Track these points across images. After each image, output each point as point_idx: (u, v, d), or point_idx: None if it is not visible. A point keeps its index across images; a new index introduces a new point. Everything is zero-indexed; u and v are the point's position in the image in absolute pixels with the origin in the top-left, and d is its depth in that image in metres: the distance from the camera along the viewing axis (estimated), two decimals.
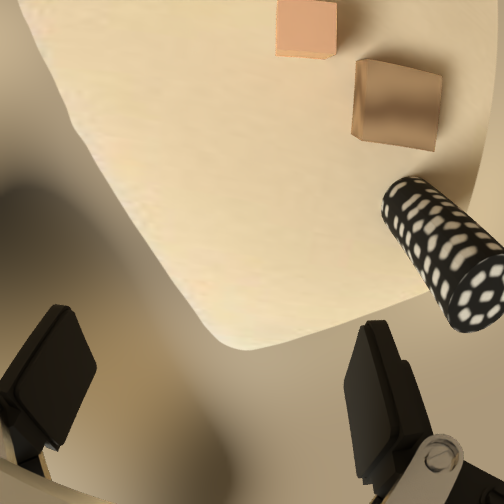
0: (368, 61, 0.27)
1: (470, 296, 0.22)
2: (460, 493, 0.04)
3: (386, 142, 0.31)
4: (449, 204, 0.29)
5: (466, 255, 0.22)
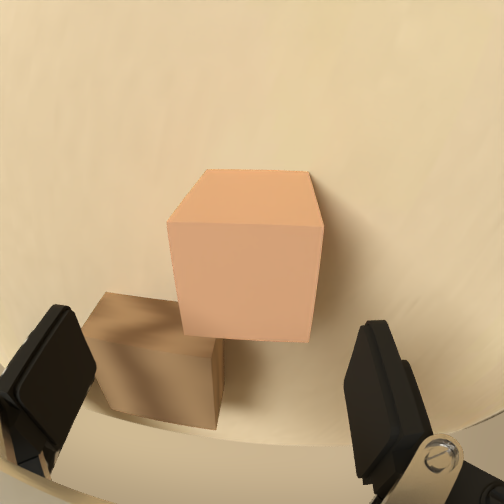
0: (206, 358, 0.18)
1: None
2: (460, 493, 0.04)
3: None
4: None
5: None
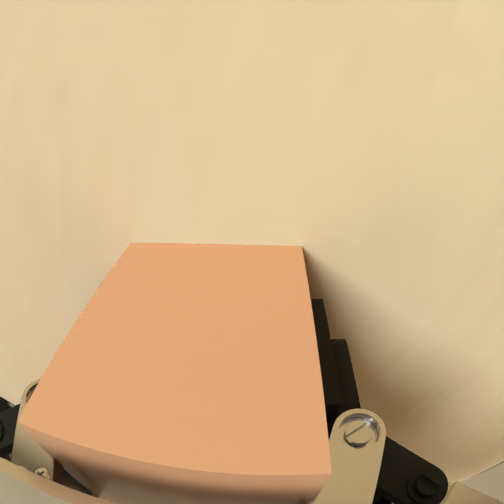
0: None
1: None
2: (384, 473, 0.05)
3: None
4: None
5: None
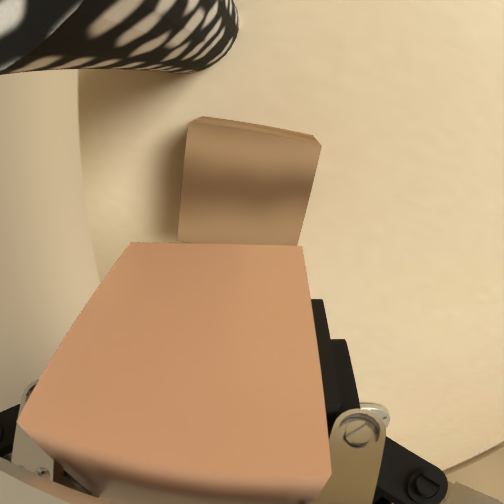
0: None
1: None
2: (384, 473, 0.05)
3: (279, 139, 0.20)
4: (143, 68, 0.14)
5: (120, 5, 0.06)
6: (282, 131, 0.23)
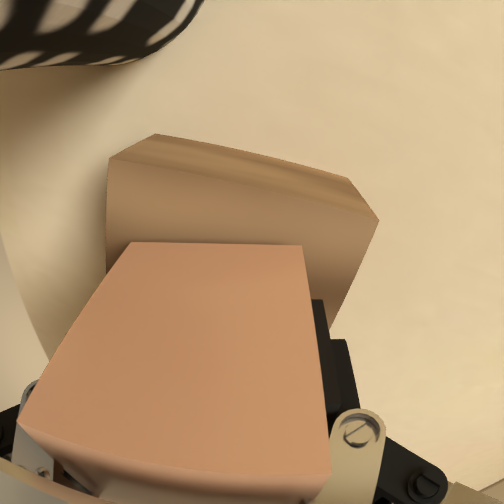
0: None
1: None
2: (384, 473, 0.05)
3: (296, 203, 0.10)
4: None
5: None
6: (298, 172, 0.12)
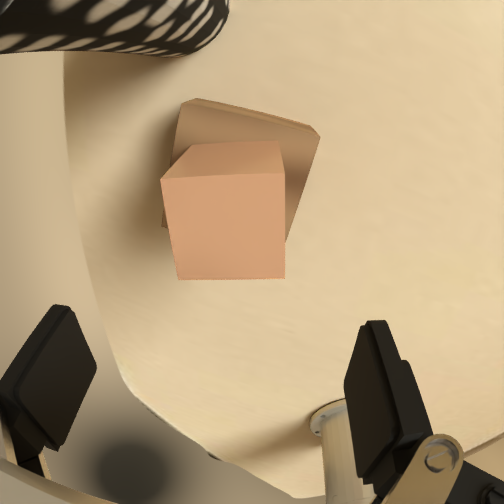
0: None
1: None
2: (460, 493, 0.04)
3: (276, 127, 0.19)
4: (125, 50, 0.12)
5: None
6: (279, 119, 0.22)
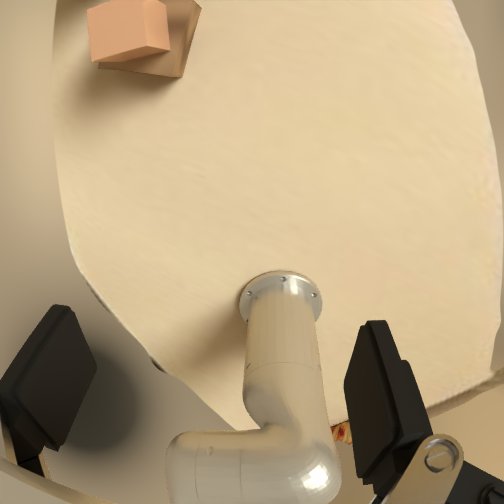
0: (171, 74, 0.29)
1: None
2: (460, 493, 0.04)
3: None
4: None
5: None
6: None
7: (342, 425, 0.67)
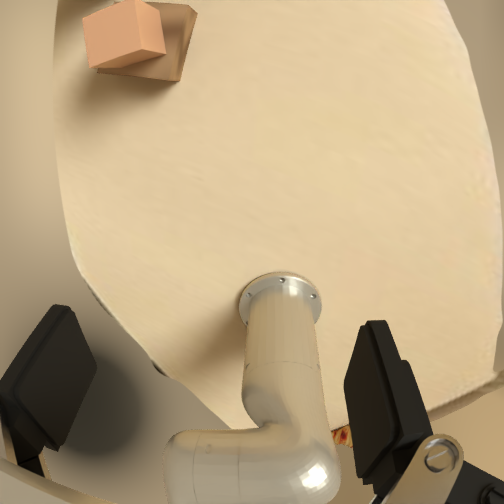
0: (168, 78, 0.30)
1: None
2: (460, 493, 0.04)
3: (163, 4, 0.25)
4: None
5: None
6: None
7: (344, 428, 0.67)
